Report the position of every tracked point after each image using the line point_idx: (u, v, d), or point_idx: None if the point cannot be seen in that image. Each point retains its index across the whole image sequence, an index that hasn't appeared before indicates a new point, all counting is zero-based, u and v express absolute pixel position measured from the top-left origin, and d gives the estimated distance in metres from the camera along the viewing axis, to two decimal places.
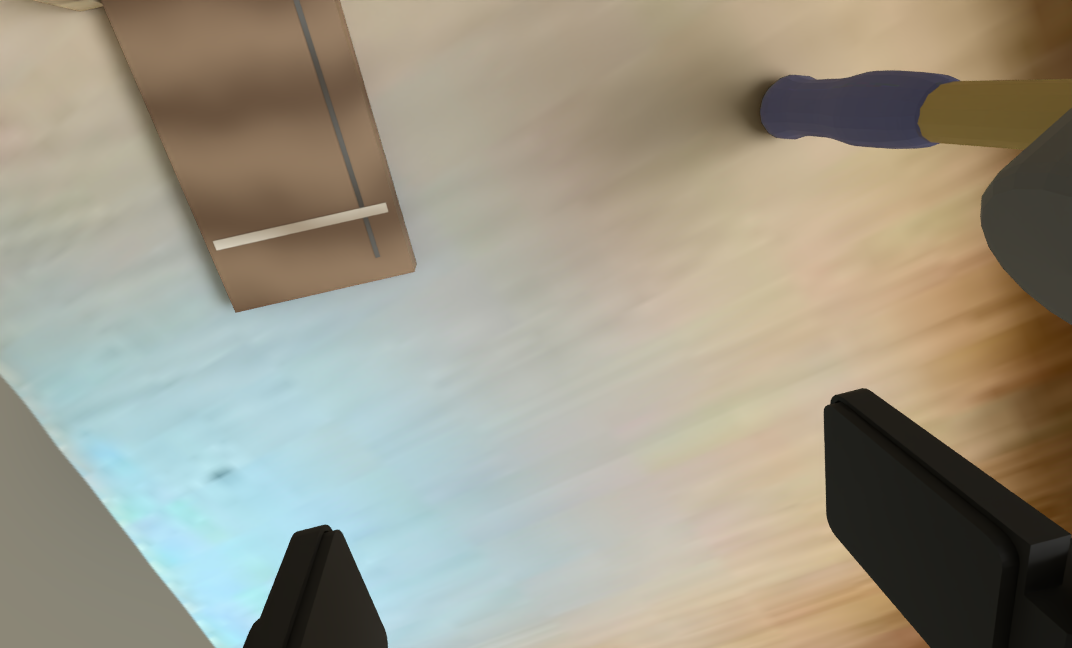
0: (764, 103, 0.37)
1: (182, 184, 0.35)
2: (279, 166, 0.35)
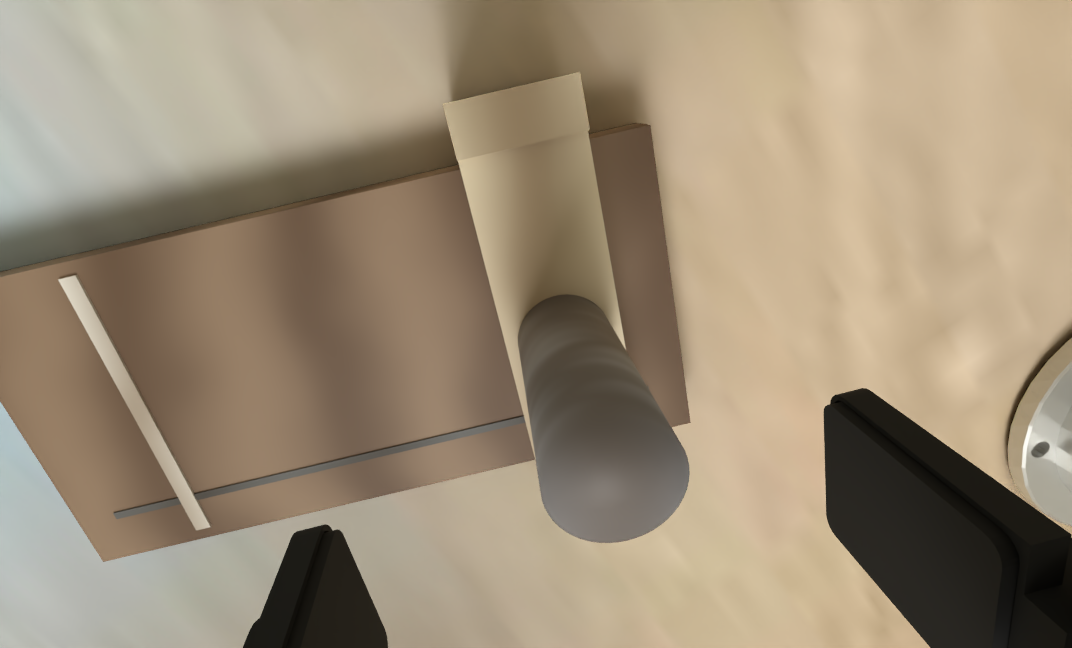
0: None
1: (176, 239, 0.20)
2: (239, 389, 0.22)
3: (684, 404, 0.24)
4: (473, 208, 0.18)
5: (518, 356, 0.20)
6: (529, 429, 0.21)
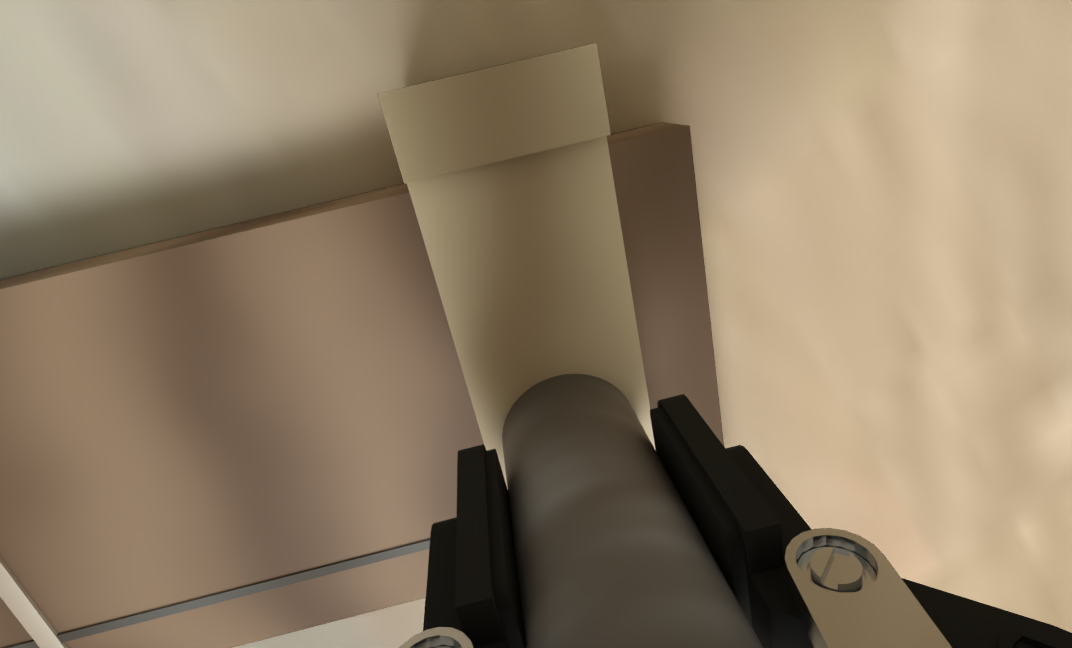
0: None
1: None
2: (111, 499, 0.15)
3: None
4: (432, 253, 0.12)
5: (503, 459, 0.14)
6: None
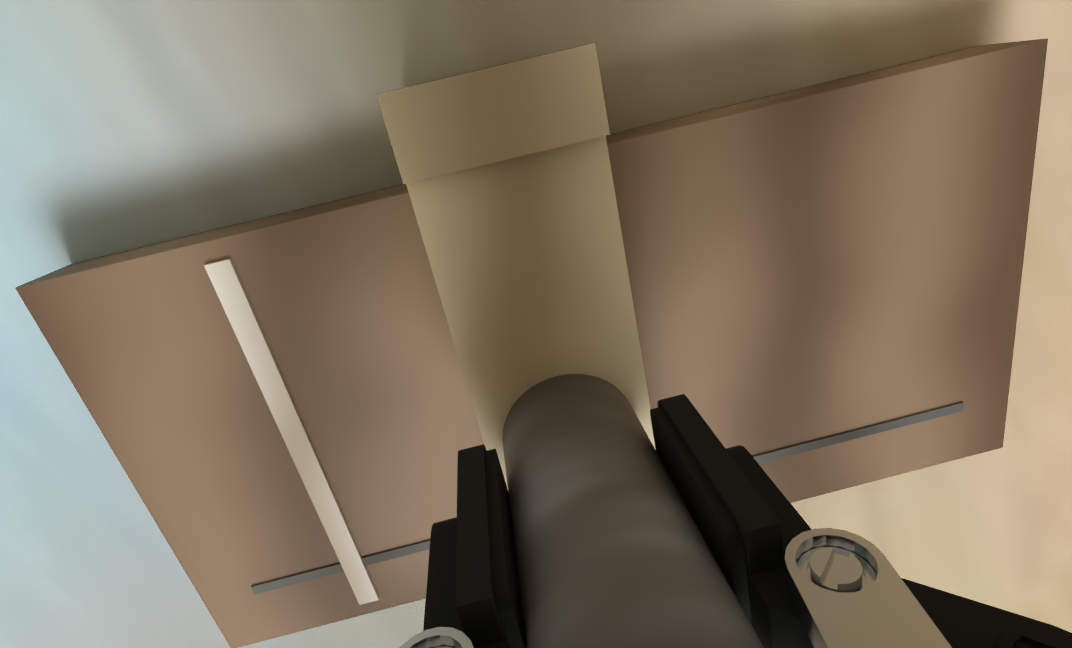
0: None
1: (377, 206, 0.14)
2: (439, 417, 0.16)
3: (1001, 424, 0.18)
4: (432, 254, 0.12)
5: (503, 460, 0.14)
6: None
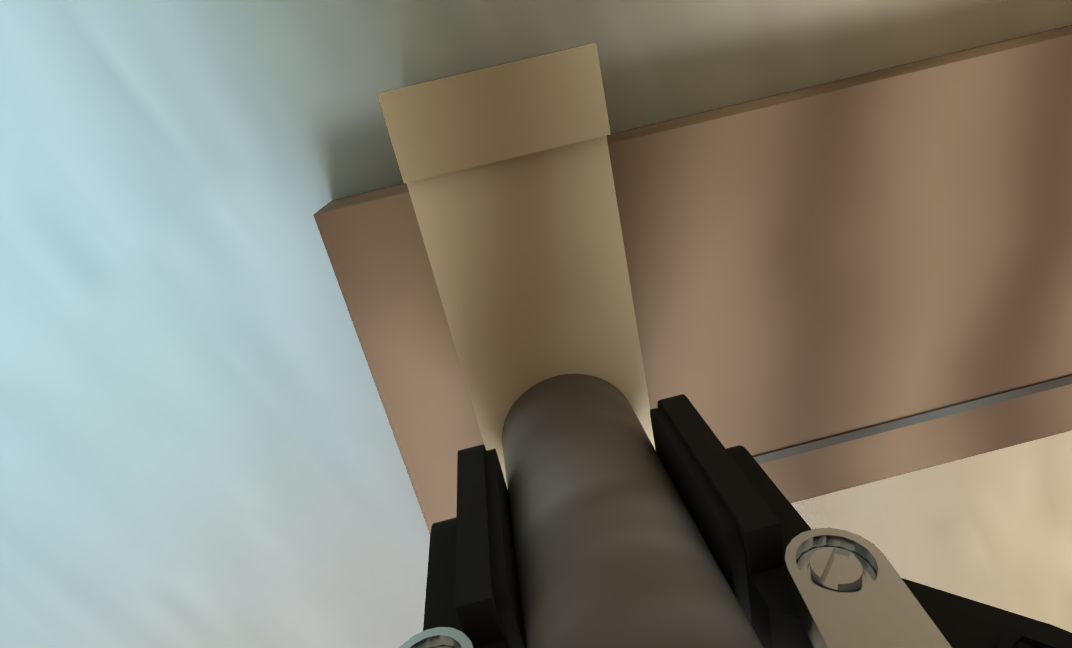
0: None
1: (664, 136, 0.14)
2: (685, 355, 0.16)
3: None
4: (432, 253, 0.12)
5: (503, 459, 0.14)
6: None
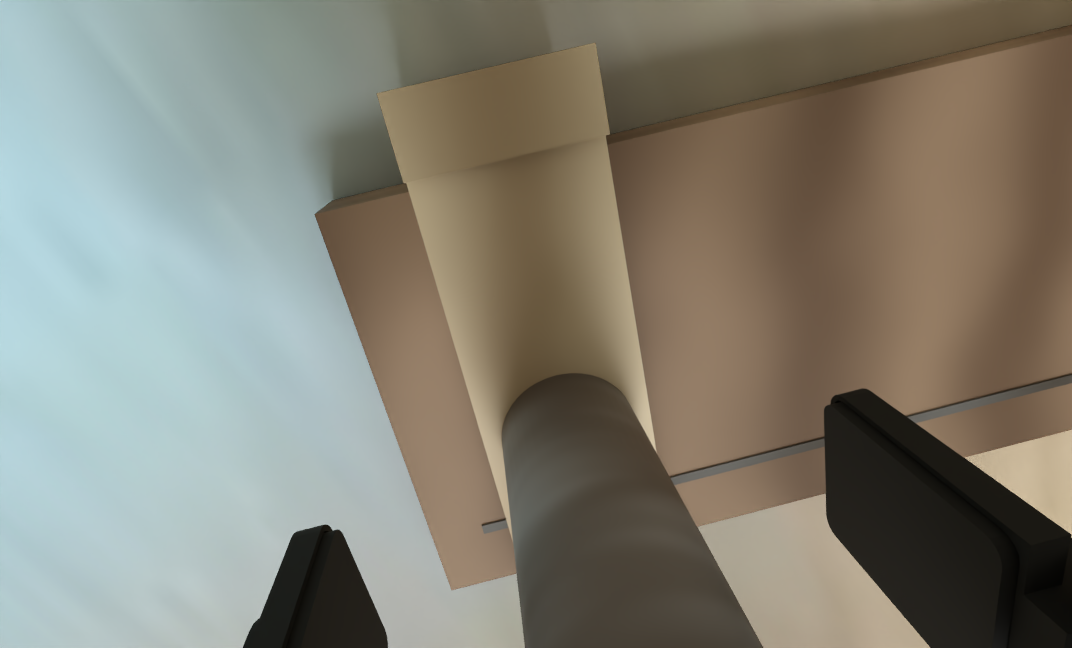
0: None
1: (665, 136, 0.14)
2: (685, 355, 0.16)
3: None
4: (432, 253, 0.12)
5: (502, 459, 0.14)
6: None
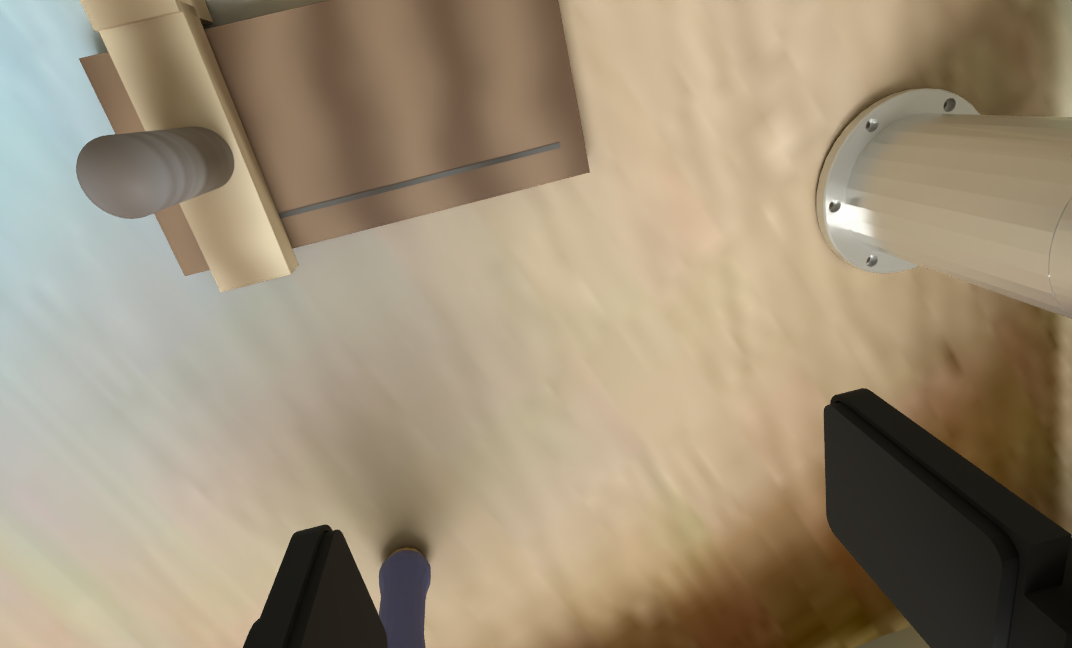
0: (405, 555, 0.44)
1: (243, 23, 0.30)
2: (283, 138, 0.32)
3: (584, 157, 0.35)
4: (116, 65, 0.28)
5: None
6: (191, 226, 0.31)
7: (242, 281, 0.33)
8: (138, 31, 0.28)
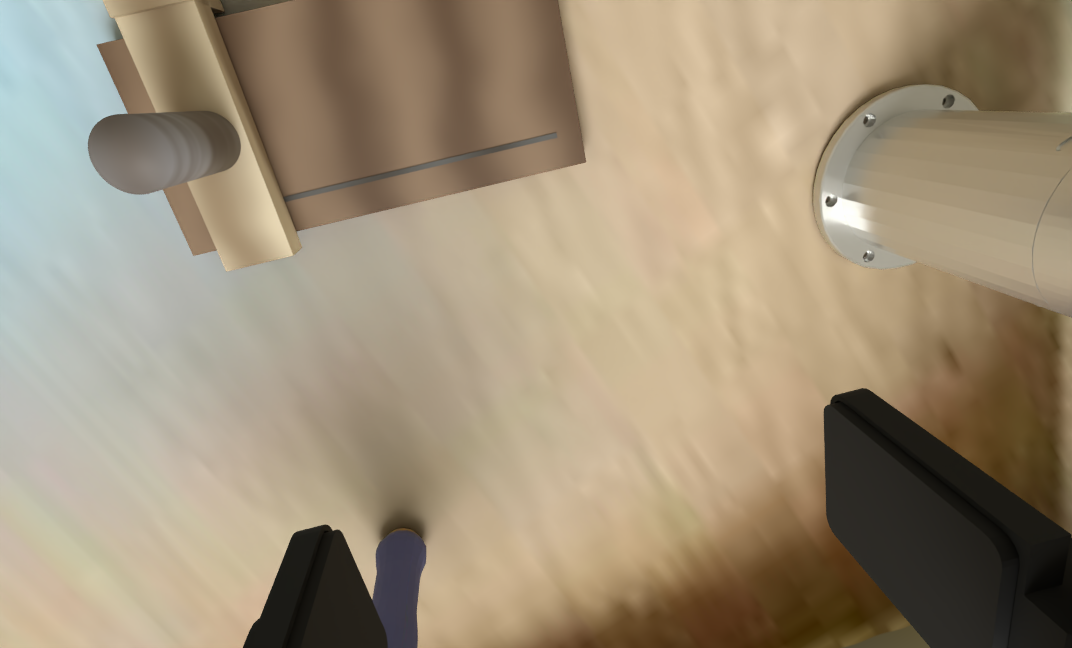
0: (402, 535, 0.45)
1: (252, 12, 0.31)
2: (288, 124, 0.34)
3: (581, 147, 0.36)
4: (131, 50, 0.29)
5: None
6: (199, 206, 0.32)
7: (247, 261, 0.34)
8: (151, 18, 0.29)
